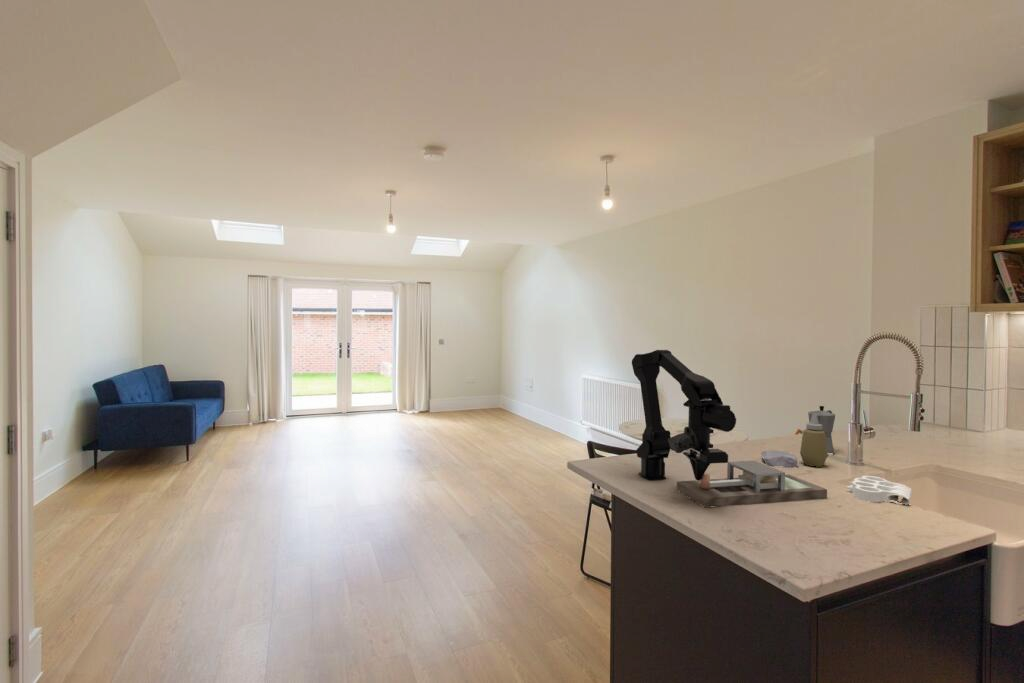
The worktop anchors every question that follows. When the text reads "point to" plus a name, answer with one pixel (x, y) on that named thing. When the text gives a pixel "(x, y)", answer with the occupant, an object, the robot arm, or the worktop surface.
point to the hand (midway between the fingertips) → (697, 479)
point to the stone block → (779, 458)
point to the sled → (734, 482)
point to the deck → (750, 492)
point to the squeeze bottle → (813, 444)
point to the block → (761, 478)
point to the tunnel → (756, 473)
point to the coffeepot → (825, 425)
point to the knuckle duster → (879, 490)
